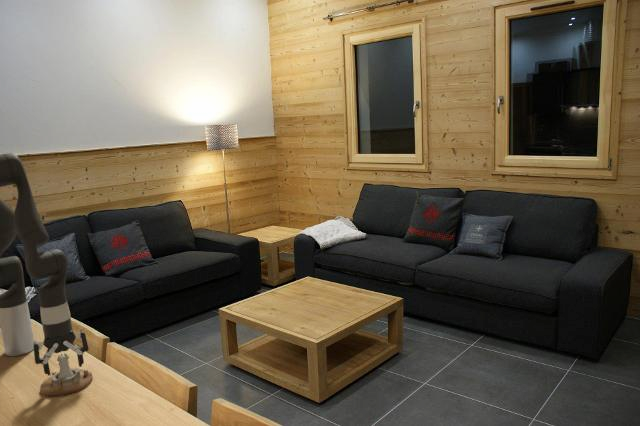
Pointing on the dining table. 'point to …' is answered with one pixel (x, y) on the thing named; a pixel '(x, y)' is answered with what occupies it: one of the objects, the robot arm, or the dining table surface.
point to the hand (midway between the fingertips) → (64, 370)
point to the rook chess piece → (64, 367)
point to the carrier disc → (66, 383)
